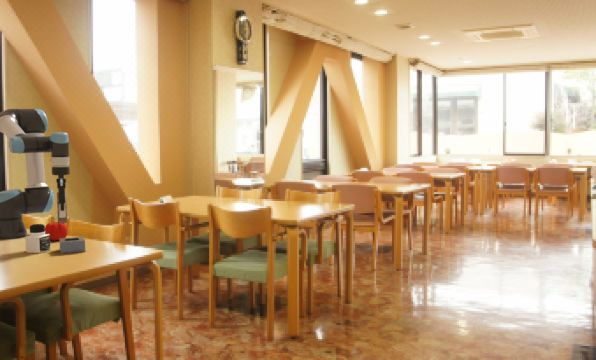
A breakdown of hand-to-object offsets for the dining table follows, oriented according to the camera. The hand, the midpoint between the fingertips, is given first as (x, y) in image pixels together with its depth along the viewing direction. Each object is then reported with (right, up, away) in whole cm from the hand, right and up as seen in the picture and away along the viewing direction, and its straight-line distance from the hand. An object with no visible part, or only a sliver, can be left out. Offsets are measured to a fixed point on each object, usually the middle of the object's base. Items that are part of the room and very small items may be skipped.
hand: (62, 216), depth 254 cm
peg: (0, -3, 0) cm, 3 cm away
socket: (+9, -14, -12) cm, 21 cm away
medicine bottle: (-5, -15, -12) cm, 20 cm away
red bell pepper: (-9, -13, +13) cm, 20 cm away
